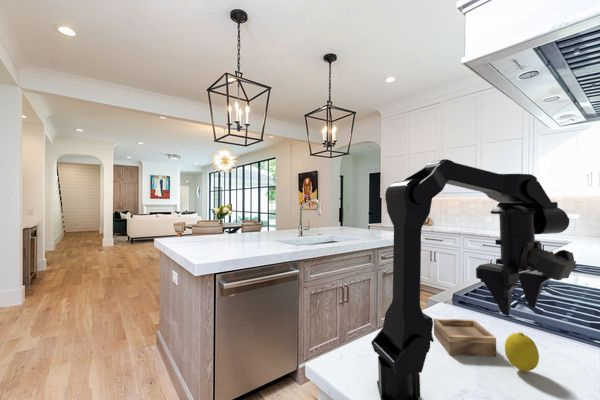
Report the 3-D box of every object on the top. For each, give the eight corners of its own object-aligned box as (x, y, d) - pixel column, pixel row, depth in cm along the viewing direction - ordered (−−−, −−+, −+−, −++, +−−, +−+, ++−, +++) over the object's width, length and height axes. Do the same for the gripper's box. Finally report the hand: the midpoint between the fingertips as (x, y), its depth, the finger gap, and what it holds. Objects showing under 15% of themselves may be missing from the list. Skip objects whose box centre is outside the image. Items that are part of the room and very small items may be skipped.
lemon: (546, 381, 54) (544, 340, 55) (514, 378, 56) (512, 338, 56) (529, 365, 60) (527, 327, 60) (500, 362, 61) (498, 326, 61)
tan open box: (449, 354, 65) (449, 336, 65) (434, 334, 75) (433, 318, 75) (496, 356, 63) (495, 338, 63) (474, 335, 73) (473, 319, 73)
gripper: (537, 243, 47) (540, 337, 47) (591, 236, 55) (594, 316, 54) (473, 237, 57) (475, 313, 57) (525, 231, 65) (528, 299, 65)
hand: (519, 310), depth 58 cm, fingers open, 9 cm apart
